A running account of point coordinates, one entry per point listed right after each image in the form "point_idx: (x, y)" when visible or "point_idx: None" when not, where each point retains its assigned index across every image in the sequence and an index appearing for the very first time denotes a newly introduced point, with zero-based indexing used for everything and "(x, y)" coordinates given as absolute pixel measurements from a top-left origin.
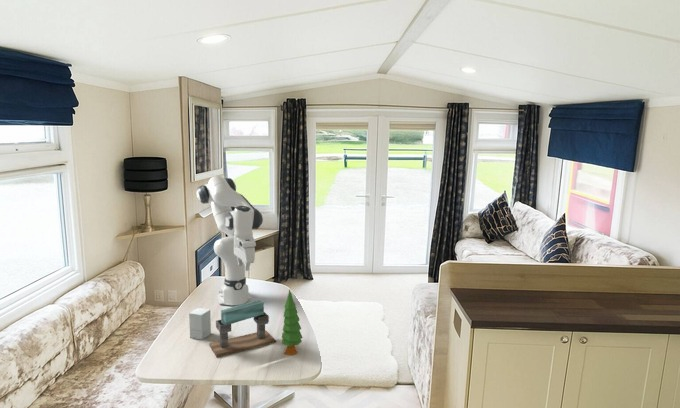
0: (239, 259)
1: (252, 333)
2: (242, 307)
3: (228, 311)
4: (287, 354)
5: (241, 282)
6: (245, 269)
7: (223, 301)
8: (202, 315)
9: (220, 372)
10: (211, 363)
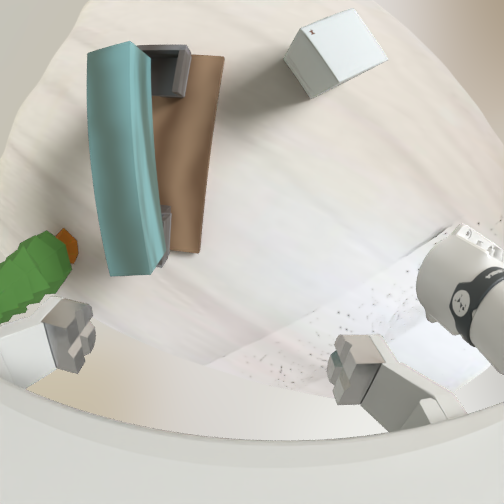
0: (402, 403)
1: (202, 204)
2: (96, 150)
3: (91, 69)
4: (58, 233)
5: (462, 319)
6: (51, 302)
7: (459, 235)
8: (300, 32)
9: (73, 52)
10: (123, 39)
